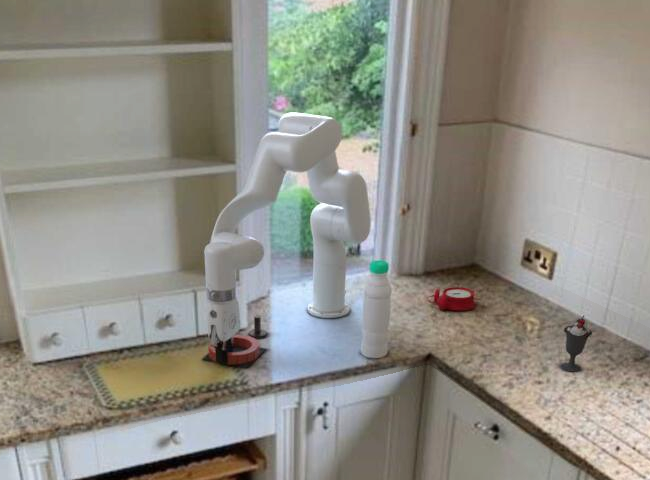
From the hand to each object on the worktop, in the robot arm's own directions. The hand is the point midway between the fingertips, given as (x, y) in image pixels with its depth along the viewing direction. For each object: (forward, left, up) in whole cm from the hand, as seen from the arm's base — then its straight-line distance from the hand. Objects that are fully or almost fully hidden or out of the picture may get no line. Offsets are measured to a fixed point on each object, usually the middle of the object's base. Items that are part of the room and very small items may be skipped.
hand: (224, 359), depth 208 cm
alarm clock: (-63, +45, -1) cm, 77 cm away
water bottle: (-21, +34, -1) cm, 40 cm away
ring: (-6, 0, -1) cm, 6 cm away
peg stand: (-20, 0, -1) cm, 20 cm away
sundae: (-32, +83, -1) cm, 89 cm away
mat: (-6, 0, -1) cm, 6 cm away
